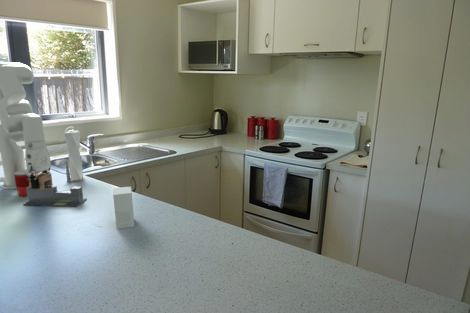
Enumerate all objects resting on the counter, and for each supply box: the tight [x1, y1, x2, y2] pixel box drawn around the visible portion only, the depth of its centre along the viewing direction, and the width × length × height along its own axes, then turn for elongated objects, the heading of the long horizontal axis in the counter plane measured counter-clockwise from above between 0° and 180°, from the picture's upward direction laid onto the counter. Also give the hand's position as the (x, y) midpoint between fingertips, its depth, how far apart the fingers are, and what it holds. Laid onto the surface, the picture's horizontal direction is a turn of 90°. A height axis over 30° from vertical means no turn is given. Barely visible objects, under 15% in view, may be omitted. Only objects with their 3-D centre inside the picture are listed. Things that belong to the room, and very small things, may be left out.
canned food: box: [14, 170, 34, 198], centre depth 160 cm, size 8×8×11 cm
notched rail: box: [22, 185, 88, 208], centre depth 150 cm, size 24×9×7 cm, turn 84°
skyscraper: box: [63, 125, 84, 183], centre depth 180 cm, size 8×8×28 cm
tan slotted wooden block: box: [28, 172, 54, 190], centre depth 149 cm, size 6×6×6 cm
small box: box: [112, 186, 135, 230], centre depth 127 cm, size 8×6×13 cm
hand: (41, 185), depth 149 cm, fingers closed on tan slotted wooden block, 6 cm apart
